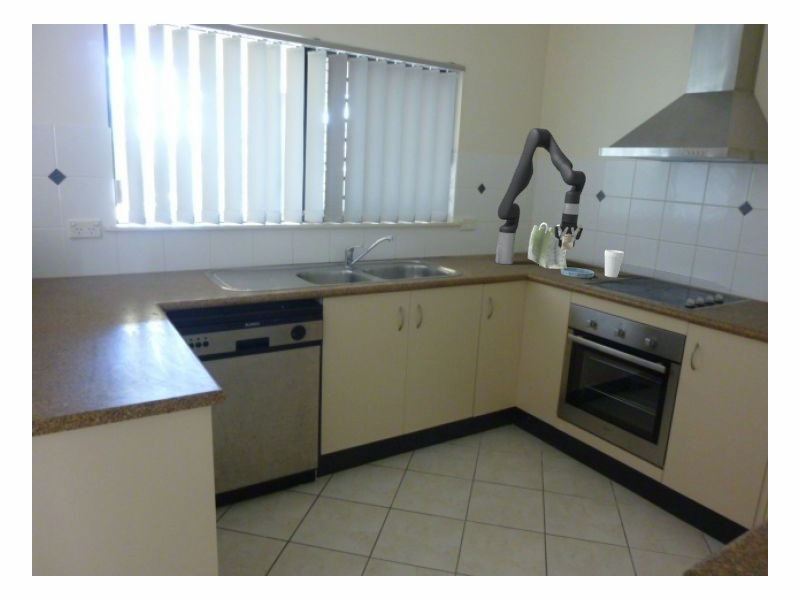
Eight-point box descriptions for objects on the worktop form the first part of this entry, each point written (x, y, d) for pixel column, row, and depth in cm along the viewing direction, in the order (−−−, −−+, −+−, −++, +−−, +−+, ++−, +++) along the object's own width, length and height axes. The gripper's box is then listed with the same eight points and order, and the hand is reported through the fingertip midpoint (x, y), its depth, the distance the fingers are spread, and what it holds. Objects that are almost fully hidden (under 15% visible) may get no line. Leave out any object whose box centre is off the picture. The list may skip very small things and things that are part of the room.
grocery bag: (569, 269, 310) (575, 226, 304) (544, 268, 308) (550, 225, 303) (548, 259, 340) (553, 220, 335) (526, 258, 339) (530, 219, 334)
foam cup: (603, 273, 302) (607, 249, 299) (622, 276, 298) (625, 251, 295) (600, 275, 294) (603, 251, 291) (618, 278, 290) (622, 253, 287)
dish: (566, 277, 285) (566, 272, 284) (557, 271, 300) (557, 266, 300) (597, 278, 285) (598, 274, 284) (587, 273, 301) (587, 268, 300)
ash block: (562, 249, 276) (563, 236, 275) (559, 247, 281) (560, 235, 279) (572, 249, 276) (573, 237, 275) (569, 248, 281) (570, 236, 280)
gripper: (557, 212, 271) (553, 248, 275) (587, 214, 271) (582, 249, 275) (553, 211, 278) (549, 245, 282) (582, 213, 278) (578, 247, 282)
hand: (565, 247), depth 278 cm, fingers closed on ash block, 5 cm apart
